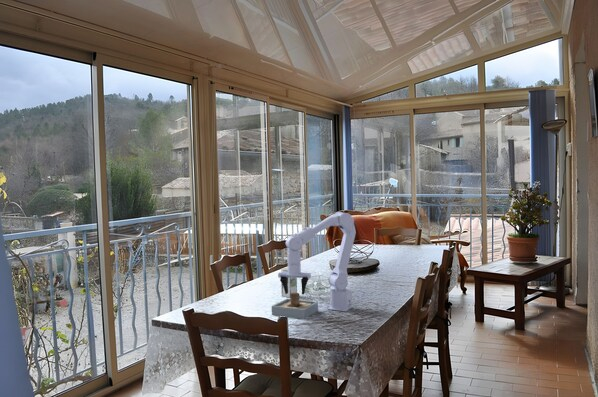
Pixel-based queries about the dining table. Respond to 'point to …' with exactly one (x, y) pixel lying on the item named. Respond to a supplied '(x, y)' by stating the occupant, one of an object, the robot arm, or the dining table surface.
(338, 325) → the dining table surface
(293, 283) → the syrup box
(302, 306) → the bore plate
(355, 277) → the dining table surface
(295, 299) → the peg
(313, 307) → the open box
